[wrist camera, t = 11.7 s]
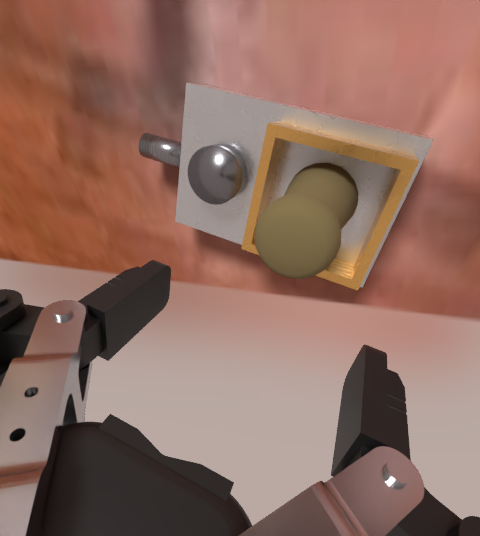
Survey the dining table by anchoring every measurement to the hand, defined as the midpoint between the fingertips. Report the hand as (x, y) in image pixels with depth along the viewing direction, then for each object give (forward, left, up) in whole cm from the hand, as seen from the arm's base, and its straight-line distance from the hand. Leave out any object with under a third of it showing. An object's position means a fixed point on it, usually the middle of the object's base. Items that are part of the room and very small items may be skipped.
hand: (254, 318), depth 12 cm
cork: (0, 0, -18) cm, 18 cm away
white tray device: (0, -7, -22) cm, 23 cm away
